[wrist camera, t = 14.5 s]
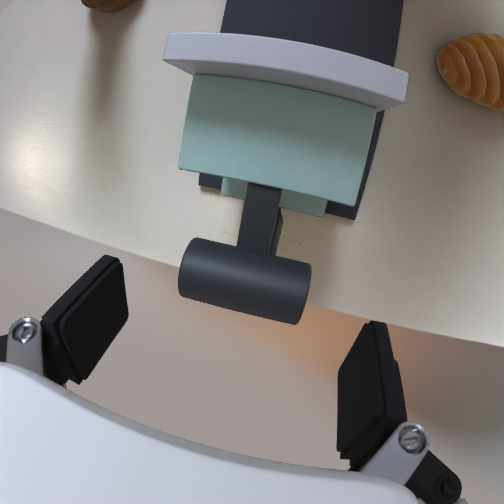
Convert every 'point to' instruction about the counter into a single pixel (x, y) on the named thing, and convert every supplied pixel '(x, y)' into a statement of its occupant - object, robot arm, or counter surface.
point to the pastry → (475, 68)
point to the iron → (272, 153)
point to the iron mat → (322, 44)
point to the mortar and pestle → (106, 4)
